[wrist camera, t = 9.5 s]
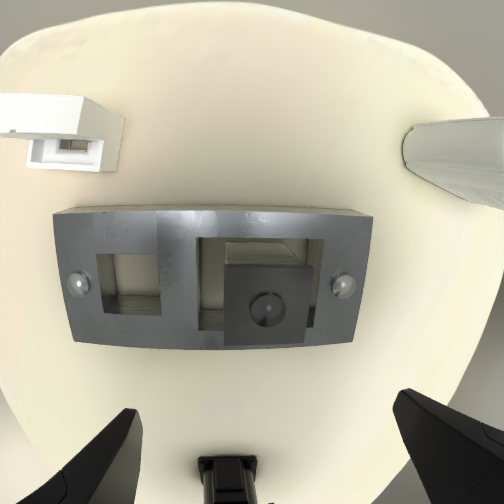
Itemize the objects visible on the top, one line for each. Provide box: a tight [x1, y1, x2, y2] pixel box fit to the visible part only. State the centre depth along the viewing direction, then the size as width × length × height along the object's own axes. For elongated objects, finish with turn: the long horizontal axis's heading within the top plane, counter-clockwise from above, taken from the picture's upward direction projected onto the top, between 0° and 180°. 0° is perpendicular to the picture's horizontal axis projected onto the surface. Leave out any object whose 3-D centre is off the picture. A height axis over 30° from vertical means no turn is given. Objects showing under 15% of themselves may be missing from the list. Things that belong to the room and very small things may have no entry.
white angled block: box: [0, 94, 125, 172], centre depth 13 cm, size 4×10×9 cm, turn 80°
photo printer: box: [403, 117, 504, 210], centre depth 14 cm, size 10×4×12 cm, turn 76°
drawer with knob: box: [224, 242, 314, 346], centre depth 17 cm, size 4×4×6 cm
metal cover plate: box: [53, 205, 373, 350], centre depth 18 cm, size 9×20×3 cm, turn 88°
